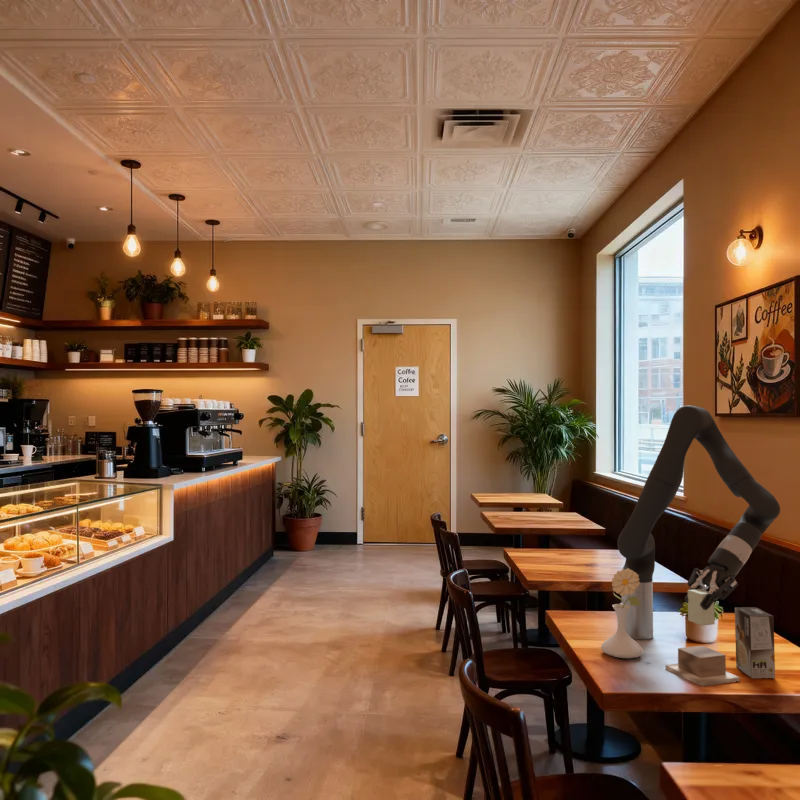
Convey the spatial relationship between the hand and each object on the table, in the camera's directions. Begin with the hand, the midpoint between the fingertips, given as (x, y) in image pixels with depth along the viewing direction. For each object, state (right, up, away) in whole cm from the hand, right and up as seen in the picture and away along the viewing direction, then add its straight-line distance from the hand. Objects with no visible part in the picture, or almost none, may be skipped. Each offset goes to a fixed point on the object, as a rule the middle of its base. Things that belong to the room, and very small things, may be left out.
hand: (695, 604), depth 173 cm
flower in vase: (-14, -19, +14) cm, 27 cm away
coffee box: (+17, -19, +2) cm, 25 cm away
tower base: (+2, -18, 0) cm, 18 cm away
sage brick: (+2, -5, 0) cm, 5 cm away
